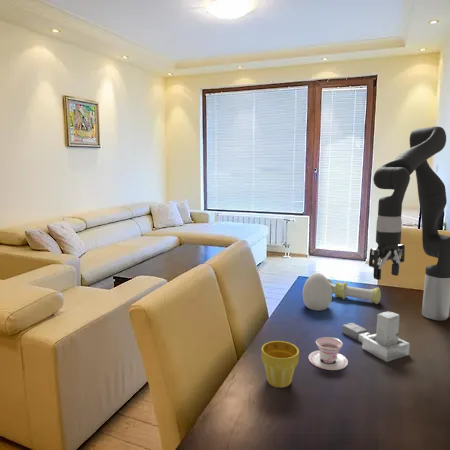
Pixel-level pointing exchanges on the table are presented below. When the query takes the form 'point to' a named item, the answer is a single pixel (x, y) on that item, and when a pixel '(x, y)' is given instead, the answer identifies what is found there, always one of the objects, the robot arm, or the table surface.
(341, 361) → the teacup
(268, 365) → the plant pot
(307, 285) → the decorative egg
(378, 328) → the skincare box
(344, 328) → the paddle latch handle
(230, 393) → the table surface
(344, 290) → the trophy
